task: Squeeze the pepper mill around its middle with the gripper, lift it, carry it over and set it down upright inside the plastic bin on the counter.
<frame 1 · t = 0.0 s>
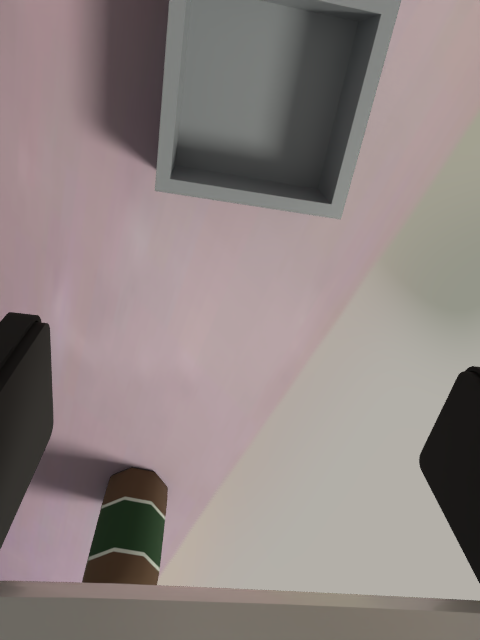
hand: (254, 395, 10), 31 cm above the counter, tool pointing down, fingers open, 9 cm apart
beer bottle: (137, 486, 56), on the counter
bin: (260, 97, 36), on the counter
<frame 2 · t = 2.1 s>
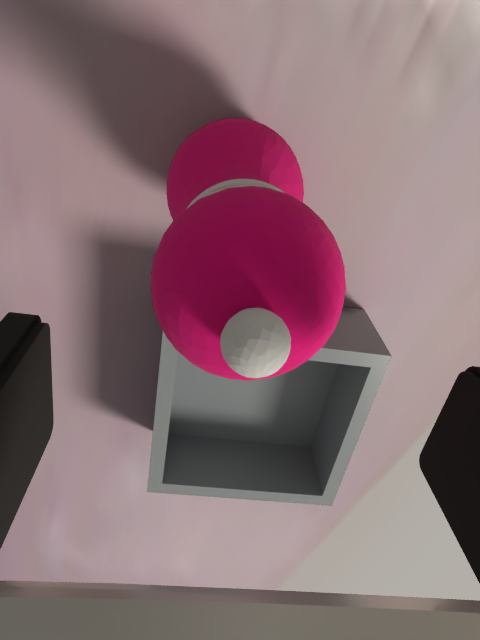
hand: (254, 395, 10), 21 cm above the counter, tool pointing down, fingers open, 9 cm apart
pepper mill: (232, 173, 28), on the counter
bin: (252, 375, 36), on the counter
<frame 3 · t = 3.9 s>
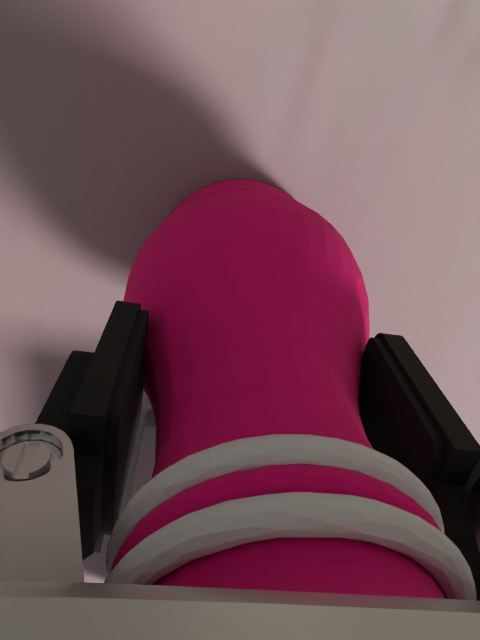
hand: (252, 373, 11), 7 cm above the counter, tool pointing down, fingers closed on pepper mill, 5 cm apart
pepper mill: (238, 258, 18), on the counter, touching gripper
bin: (265, 520, 25), on the counter
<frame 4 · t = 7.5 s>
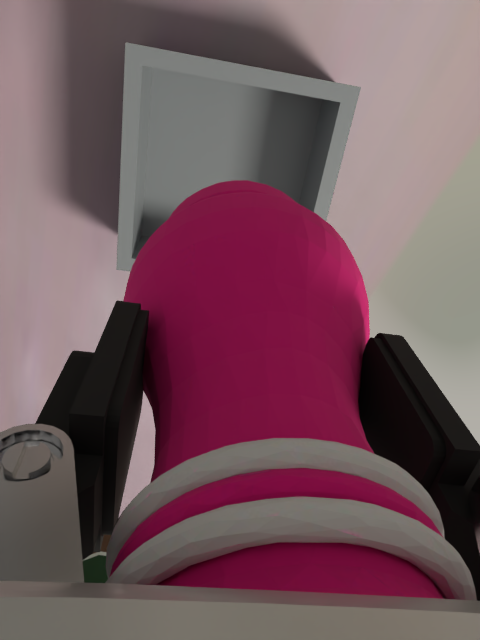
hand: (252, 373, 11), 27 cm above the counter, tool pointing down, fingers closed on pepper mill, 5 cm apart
pepper mill: (238, 259, 18), point 20 cm above the counter, touching gripper
beer bottle: (115, 535, 56), on the counter
bin: (226, 168, 35), on the counter
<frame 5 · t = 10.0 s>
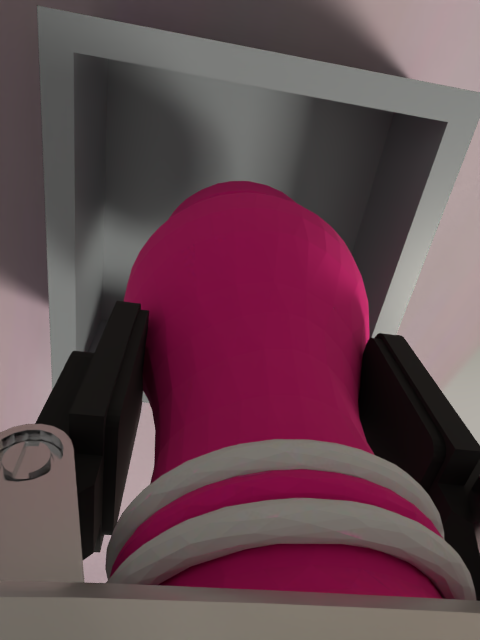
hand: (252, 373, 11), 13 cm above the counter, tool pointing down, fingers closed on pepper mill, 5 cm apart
pepper mill: (238, 259, 18), point 5 cm above the counter, touching gripper
bin: (233, 218, 22), on the counter
when the fingers open (10 cm above the counter, at t = 11.1 s): pepper mill drops 2 cm, resting on bin.
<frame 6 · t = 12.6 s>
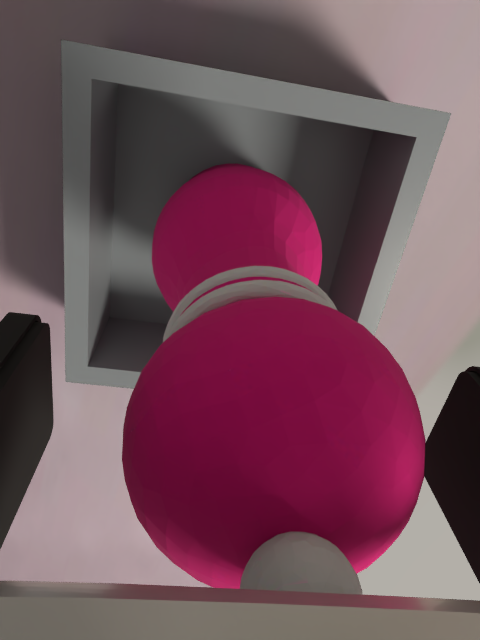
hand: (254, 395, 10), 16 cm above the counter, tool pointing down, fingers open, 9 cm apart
pepper mill: (231, 224, 24), point 1 cm above the counter, touching bin
bin: (230, 224, 24), on the counter
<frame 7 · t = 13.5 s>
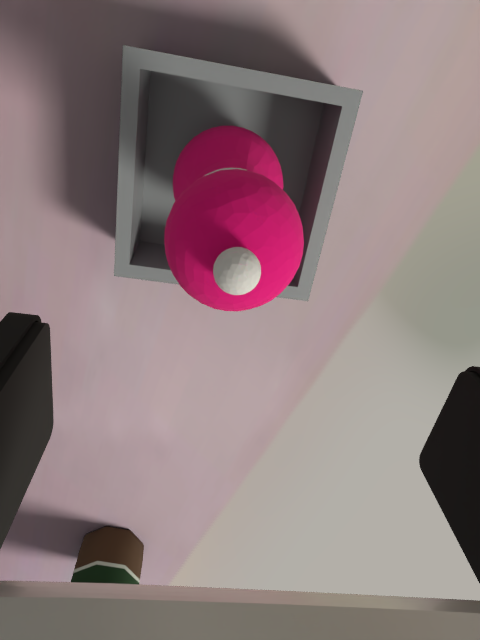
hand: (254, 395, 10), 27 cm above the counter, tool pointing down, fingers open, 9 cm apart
pepper mill: (226, 172, 34), point 1 cm above the counter, touching bin
beer bottle: (113, 544, 55), on the counter
bin: (226, 173, 35), on the counter
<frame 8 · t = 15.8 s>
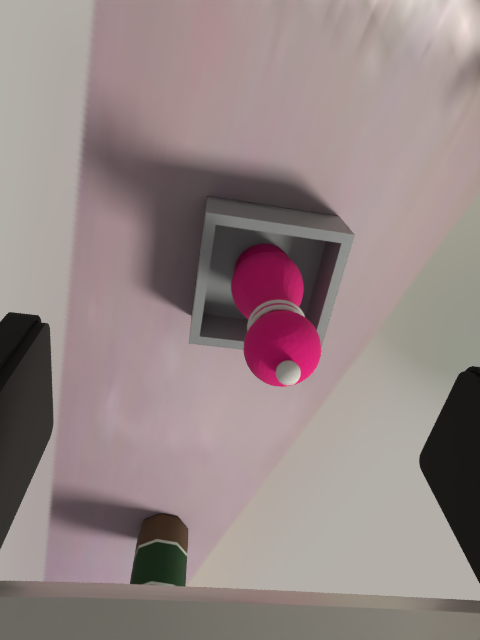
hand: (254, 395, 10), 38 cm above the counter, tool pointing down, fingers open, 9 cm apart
pepper mill: (262, 269, 49), point 1 cm above the counter, touching bin
beer bottle: (163, 527, 71), on the counter
bin: (261, 268, 50), on the counter
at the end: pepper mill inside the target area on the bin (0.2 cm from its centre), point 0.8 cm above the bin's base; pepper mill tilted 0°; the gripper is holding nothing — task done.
